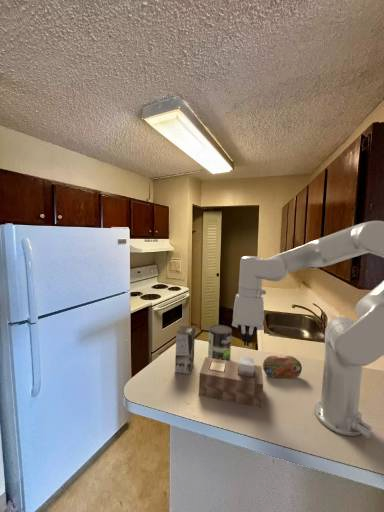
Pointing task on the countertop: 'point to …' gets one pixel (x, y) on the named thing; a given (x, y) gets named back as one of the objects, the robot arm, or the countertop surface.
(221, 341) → the coffee can
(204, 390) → the sleeve block
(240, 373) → the metal peg
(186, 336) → the coffee box
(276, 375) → the tin
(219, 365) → the beech peg
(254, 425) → the countertop surface
